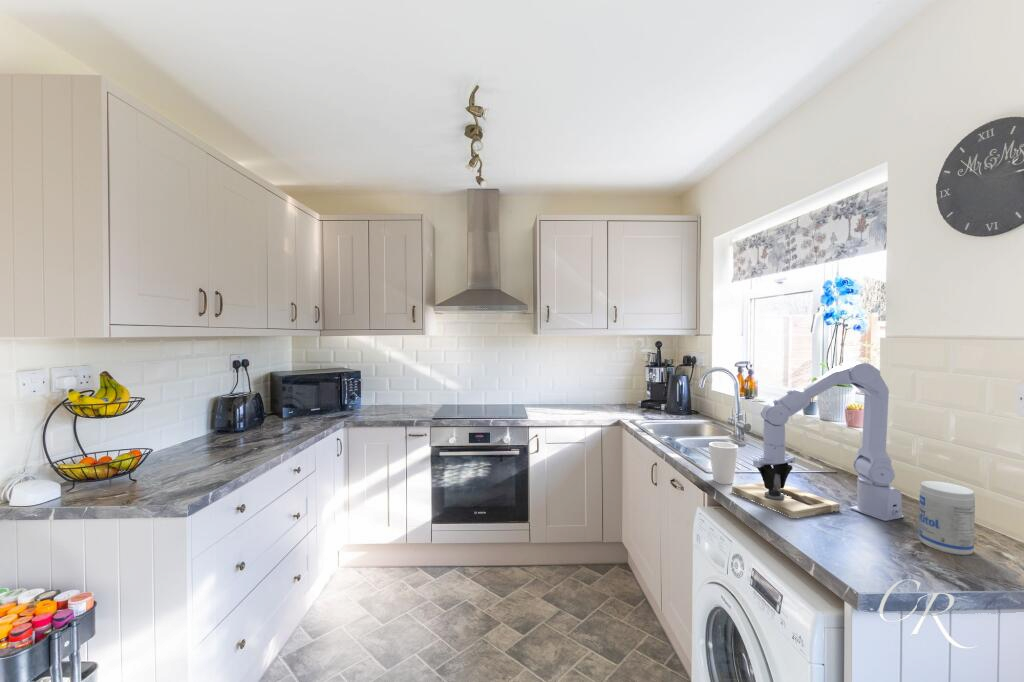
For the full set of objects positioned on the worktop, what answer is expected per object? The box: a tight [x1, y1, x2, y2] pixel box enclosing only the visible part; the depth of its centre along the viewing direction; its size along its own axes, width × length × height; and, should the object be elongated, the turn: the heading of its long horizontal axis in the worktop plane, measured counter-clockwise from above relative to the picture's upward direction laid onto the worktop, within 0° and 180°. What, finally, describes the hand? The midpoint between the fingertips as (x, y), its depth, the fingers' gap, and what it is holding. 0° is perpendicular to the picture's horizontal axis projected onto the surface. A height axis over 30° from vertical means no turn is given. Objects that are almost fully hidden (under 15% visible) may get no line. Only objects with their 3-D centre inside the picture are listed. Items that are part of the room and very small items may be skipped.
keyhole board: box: [731, 481, 840, 519], centre depth 136 cm, size 22×18×2 cm
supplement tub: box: [918, 480, 976, 556], centre depth 106 cm, size 10×10×15 cm
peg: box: [765, 472, 784, 500], centre depth 134 cm, size 5×5×8 cm
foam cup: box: [708, 441, 739, 485], centre depth 155 cm, size 10×9×13 cm
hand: (774, 488), depth 134 cm, fingers open, 4 cm apart
